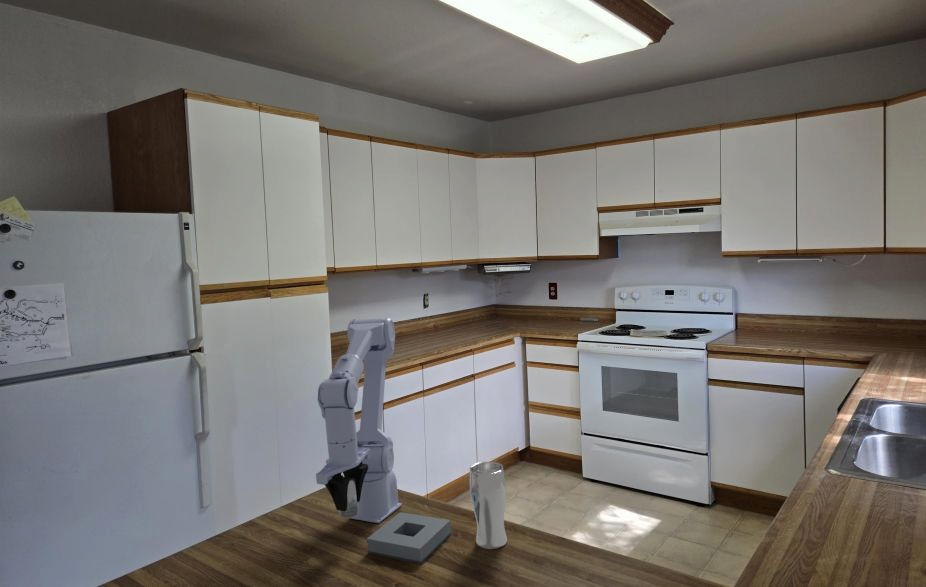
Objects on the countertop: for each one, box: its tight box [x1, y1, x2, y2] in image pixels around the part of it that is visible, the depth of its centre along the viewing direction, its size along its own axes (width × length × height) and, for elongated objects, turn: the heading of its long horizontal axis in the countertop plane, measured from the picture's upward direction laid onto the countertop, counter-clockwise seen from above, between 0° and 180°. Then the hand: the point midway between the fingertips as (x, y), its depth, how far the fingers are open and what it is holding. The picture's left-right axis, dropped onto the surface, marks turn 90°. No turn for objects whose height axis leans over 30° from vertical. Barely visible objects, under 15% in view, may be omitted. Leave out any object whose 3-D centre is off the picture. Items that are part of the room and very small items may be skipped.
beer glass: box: [469, 461, 508, 550], centre depth 122 cm, size 7×7×15 cm
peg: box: [339, 475, 358, 519], centre depth 124 cm, size 4×4×7 cm
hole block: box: [366, 511, 452, 565], centre depth 124 cm, size 12×12×3 cm
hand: (348, 505), depth 124 cm, fingers closed on peg, 4 cm apart
